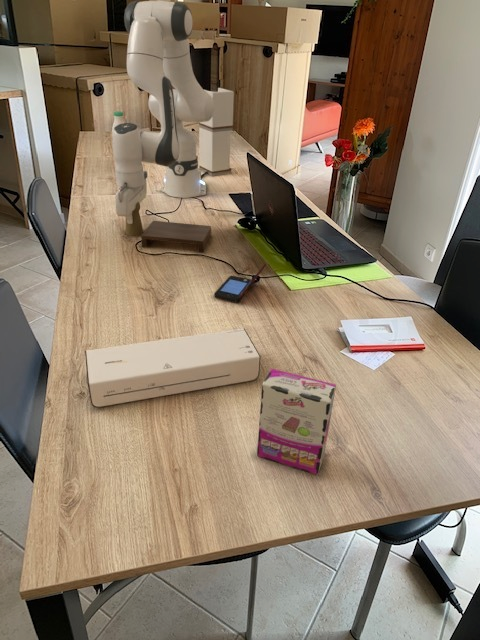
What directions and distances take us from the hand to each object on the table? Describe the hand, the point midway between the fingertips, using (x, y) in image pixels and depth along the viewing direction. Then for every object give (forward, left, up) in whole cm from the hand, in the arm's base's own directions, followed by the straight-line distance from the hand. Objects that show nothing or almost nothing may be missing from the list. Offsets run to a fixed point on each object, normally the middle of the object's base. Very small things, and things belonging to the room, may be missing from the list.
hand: (133, 219), depth 164 cm
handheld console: (+33, +41, -5) cm, 53 cm away
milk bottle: (-97, -39, -5) cm, 105 cm away
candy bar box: (+89, +58, -5) cm, 106 cm away
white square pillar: (-79, +13, -5) cm, 80 cm away
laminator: (+71, +32, -5) cm, 78 cm away
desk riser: (+4, +16, -5) cm, 17 cm away
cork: (0, 0, -5) cm, 5 cm away
